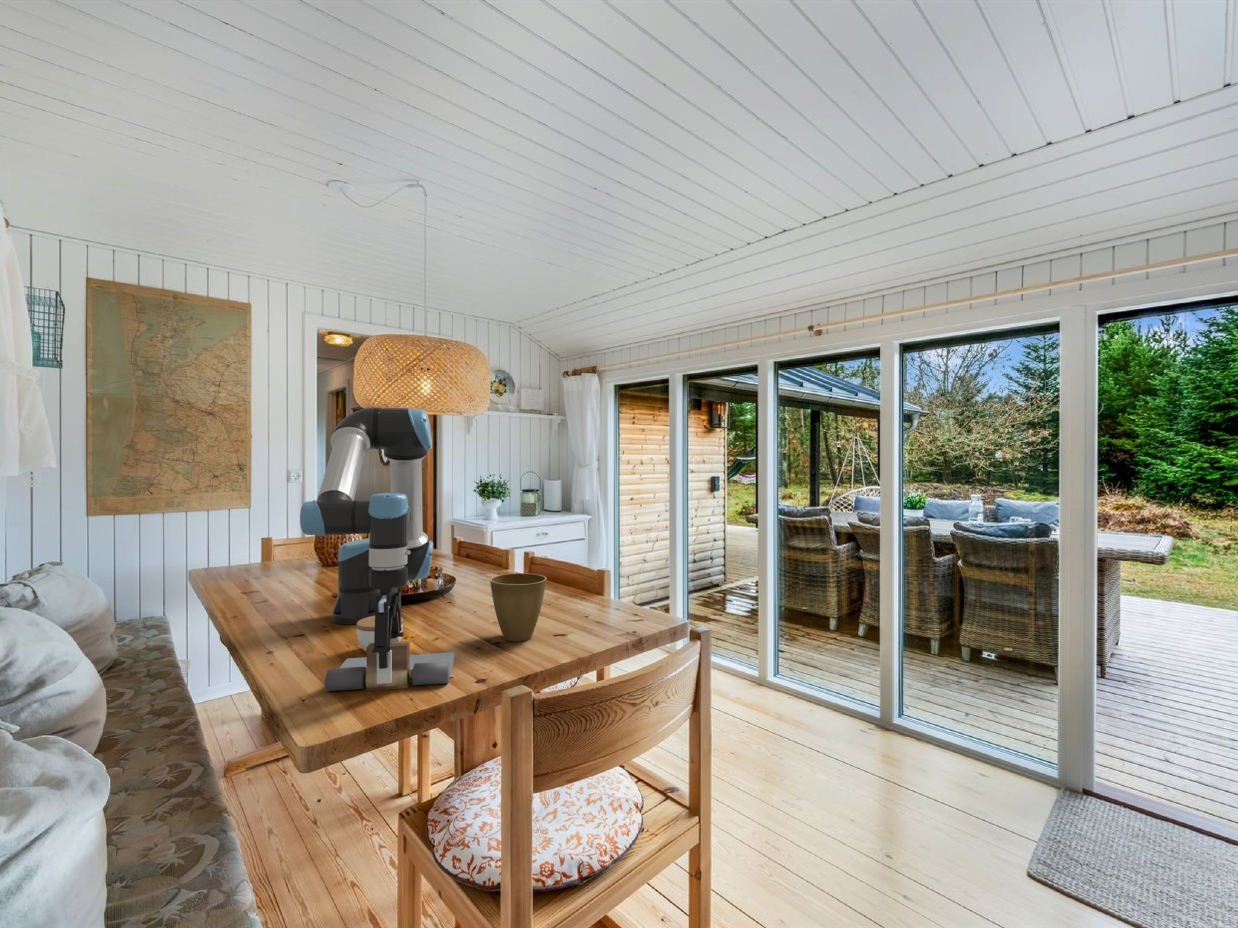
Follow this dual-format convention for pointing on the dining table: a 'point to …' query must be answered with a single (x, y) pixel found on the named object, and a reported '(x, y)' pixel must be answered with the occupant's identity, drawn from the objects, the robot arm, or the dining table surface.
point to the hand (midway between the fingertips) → (388, 675)
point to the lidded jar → (368, 631)
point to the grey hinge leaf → (421, 671)
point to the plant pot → (517, 603)
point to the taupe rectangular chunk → (398, 667)
